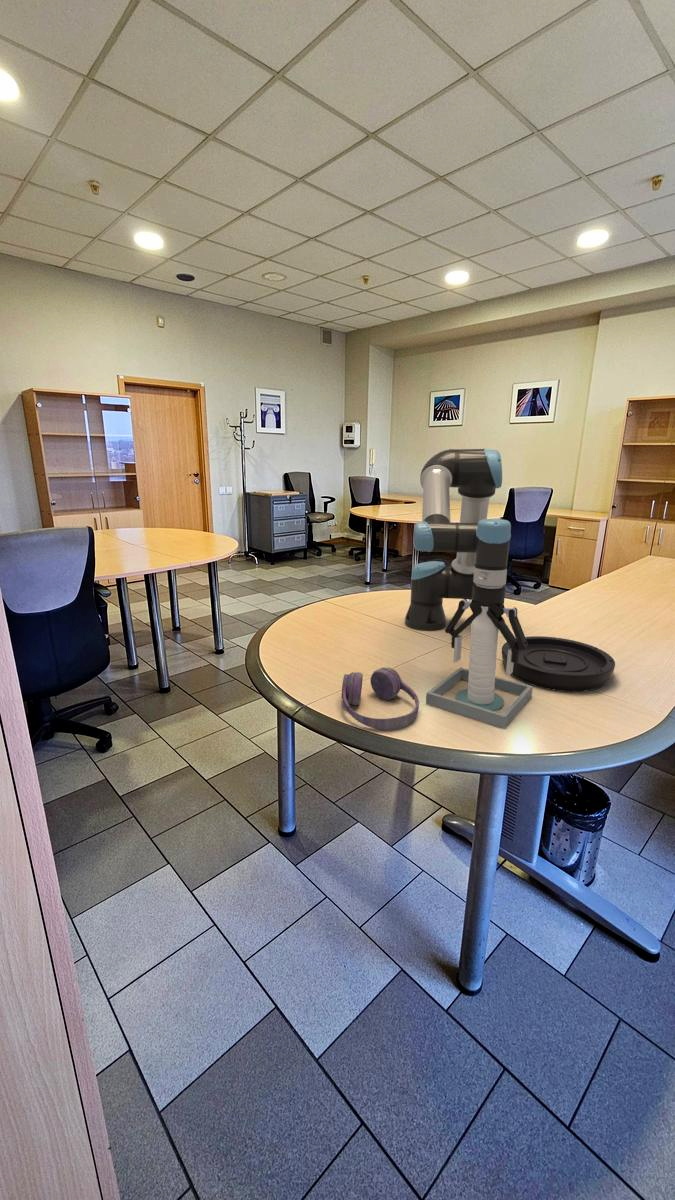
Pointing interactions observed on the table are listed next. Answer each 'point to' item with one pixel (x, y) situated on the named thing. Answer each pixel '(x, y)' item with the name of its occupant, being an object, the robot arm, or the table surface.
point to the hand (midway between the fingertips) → (482, 667)
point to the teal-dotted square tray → (476, 712)
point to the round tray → (561, 664)
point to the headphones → (385, 687)
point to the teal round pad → (494, 706)
